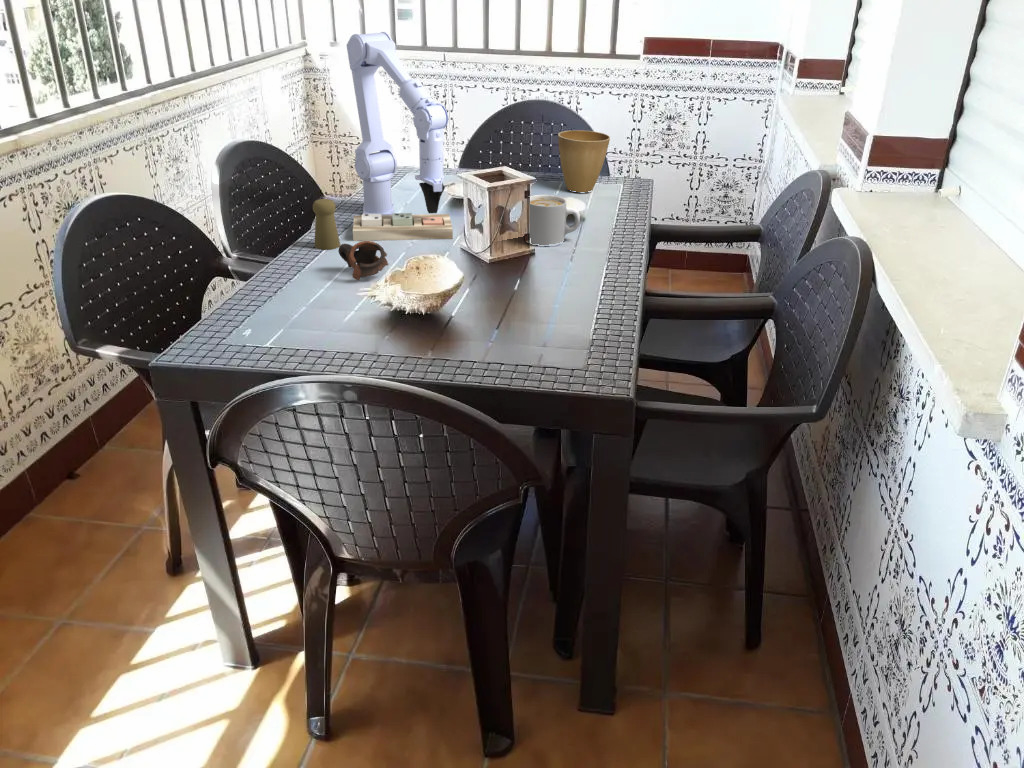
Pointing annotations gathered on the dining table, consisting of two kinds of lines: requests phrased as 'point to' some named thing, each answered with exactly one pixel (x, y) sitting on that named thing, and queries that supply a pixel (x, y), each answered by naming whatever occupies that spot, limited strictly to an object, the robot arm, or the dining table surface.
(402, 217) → the three dot key
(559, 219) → the coffee mug
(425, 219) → the one dot key
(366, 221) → the two dot key
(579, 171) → the plant pot
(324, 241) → the cork
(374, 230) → the wooden puzzle board
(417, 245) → the dining table surface
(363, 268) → the pottery mug
